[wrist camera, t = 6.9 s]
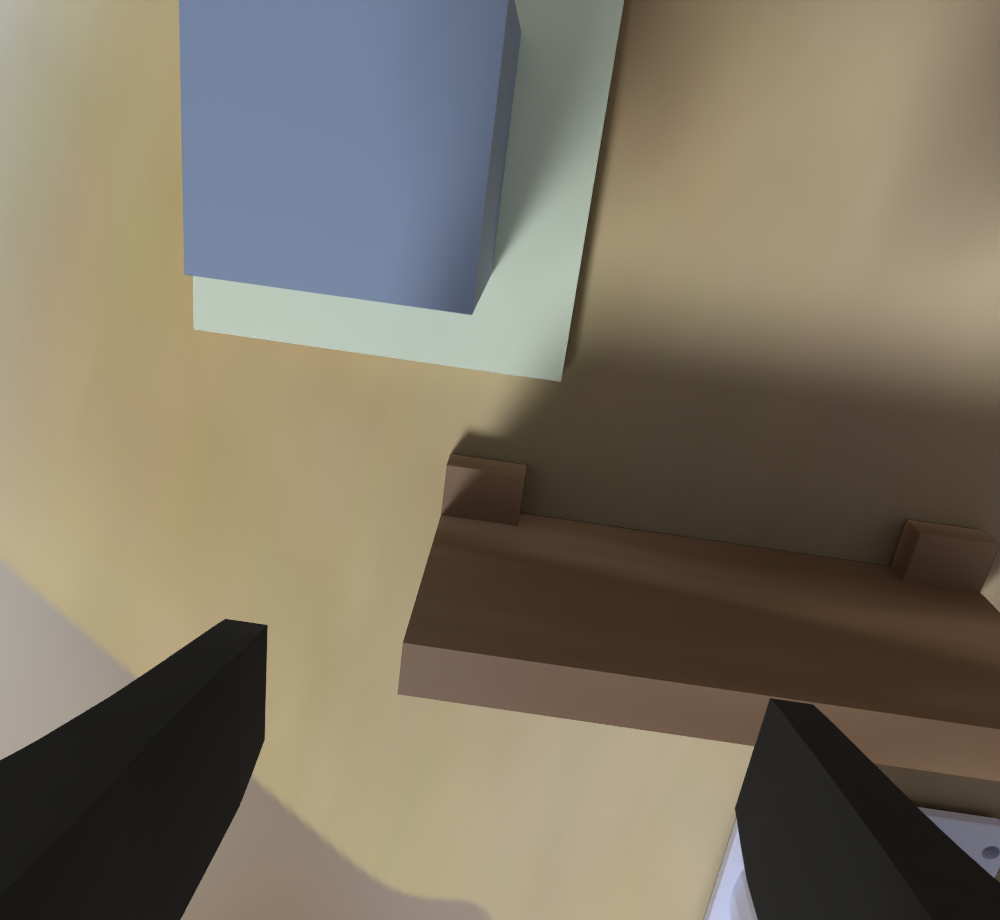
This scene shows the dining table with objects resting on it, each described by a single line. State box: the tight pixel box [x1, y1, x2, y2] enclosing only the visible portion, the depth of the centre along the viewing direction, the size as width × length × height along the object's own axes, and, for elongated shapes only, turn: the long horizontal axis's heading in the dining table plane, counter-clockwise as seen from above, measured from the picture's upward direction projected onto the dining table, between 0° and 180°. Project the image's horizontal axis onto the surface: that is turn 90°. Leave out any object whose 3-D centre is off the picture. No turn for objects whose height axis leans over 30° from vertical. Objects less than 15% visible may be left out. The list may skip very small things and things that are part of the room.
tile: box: [193, 0, 624, 382], centre depth 18 cm, size 9×9×1 cm
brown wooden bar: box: [398, 454, 1000, 782], centre depth 18 cm, size 4×14×6 cm, turn 83°
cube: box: [179, 0, 521, 315], centre depth 15 cm, size 5×5×5 cm
